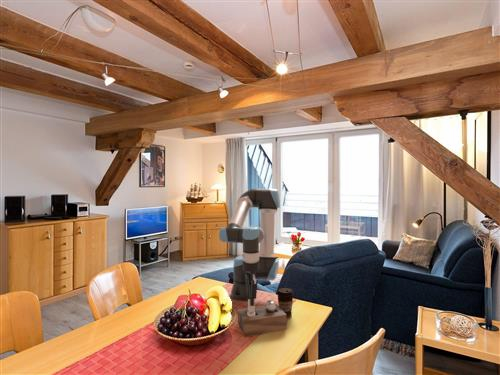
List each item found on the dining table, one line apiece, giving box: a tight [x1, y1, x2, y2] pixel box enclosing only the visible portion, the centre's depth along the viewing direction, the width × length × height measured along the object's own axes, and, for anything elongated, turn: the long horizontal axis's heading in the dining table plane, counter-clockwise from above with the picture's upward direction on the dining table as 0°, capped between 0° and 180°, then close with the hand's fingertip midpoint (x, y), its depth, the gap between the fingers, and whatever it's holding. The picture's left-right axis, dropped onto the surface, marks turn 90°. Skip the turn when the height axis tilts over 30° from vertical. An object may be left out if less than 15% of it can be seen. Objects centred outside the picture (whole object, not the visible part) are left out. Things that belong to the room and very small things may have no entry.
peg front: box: [247, 312, 256, 317], centre depth 128 cm, size 4×4×6 cm
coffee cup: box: [276, 287, 295, 319], centre depth 141 cm, size 9×8×13 cm
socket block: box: [237, 303, 288, 338], centre depth 130 cm, size 12×20×7 cm, turn 107°
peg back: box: [266, 299, 277, 313], centre depth 131 cm, size 4×4×6 cm
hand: (251, 311), depth 128 cm, fingers closed
